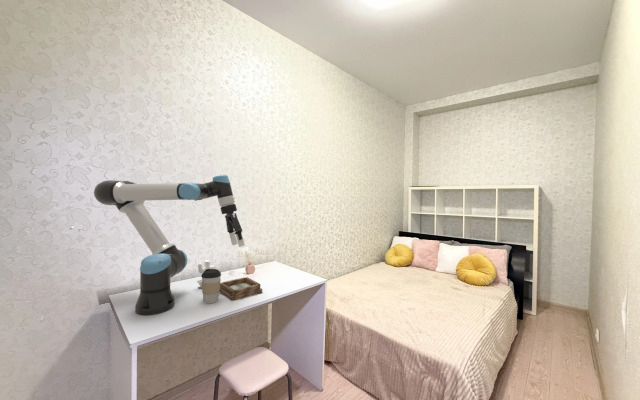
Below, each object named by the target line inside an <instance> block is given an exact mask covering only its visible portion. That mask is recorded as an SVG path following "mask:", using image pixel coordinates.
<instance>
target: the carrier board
mask: <svg viewBox="0 0 640 400" xmlns="http://www.w3.org/2000/svg"><path fill="white" fill-rule="evenodd" d="M219 294H221V295H223V296H224V297H225V298H227V299H229V300H230V301H231V302H234V301H238V300H241V299H245V298H249V297H252V296H257V295H258V294H263V288H261V283H259V282H258V281H255V280H254V279H251V278H250V277H247V276H246V277H239V278H236V279H231V280H227V281H223V282H220V291H219Z"/></svg>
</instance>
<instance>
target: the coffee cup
mask: <svg viewBox="0 0 640 400" xmlns="http://www.w3.org/2000/svg"><path fill="white" fill-rule="evenodd" d="M221 276H222V272H221V271H220V270H219V269H216V268H215V269H206V270H205V271H204V272H203V273H201V276H200V277H201V280H202V288H201V290H202V292H201V293H202V301H203V303H204V304H212V303H213V304H214V303H216V302H218V301H219V295H220V292H219V291H220V283H221Z"/></svg>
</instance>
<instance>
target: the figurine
mask: <svg viewBox="0 0 640 400" xmlns="http://www.w3.org/2000/svg"><path fill="white" fill-rule="evenodd" d="M210 263H211V261H210V260H209V259H205V260H204V261H203V263H202V262H199V263H198V265H197V267H198V270H197V271H198V273H199V274H202V273H204V271H205V270H206V269H216V267H215V265H213V264H212V265H210ZM196 282H197V283H198V285H199V286H200V288H201V289H202V279H200V280H199V279H198V280H196Z"/></svg>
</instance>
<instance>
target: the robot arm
mask: <svg viewBox="0 0 640 400" xmlns="http://www.w3.org/2000/svg"><path fill="white" fill-rule="evenodd" d="M93 195H94V198H95V199H96V201H98V202H99V203H100V204H102V205H105V206H116V208H117V210H118V212H120V213H123V214H125V215H126V216H127V217H126V218H128V219H129V221H130V222H131V224H132V225H133V227H134V228H135V231H137V232H138V235H139V236H140V237H141V238H142V240H143V242H144V243H145V245H146V246H147V247H148V249H149V250H150V252H151V254H150V255H147V256H145V257H144V258H143V259H142V260H141V261H140V267H139V271H140V275H139V277H140V278H139V279H140V282H139V283H140V284H139V285H140V286H139V287H140V290H139V291H140V292H139V295H138V298H137V301H136V304H135V305H134V306H135V307H134V308H135V309H134V310H135V313H136V314H138V315H142V316H149V315H151V316H152V315H157V314H161V313H165V312H166V311H169V310H171V309H173V308H174V306H175V297H174V295H173V292H172V289H171V279H172V278H173V277H174V276H175V275H178V274H179V273H181V272H182V271H183V270H184V269H185V268H186V267H187V264H188V255H187V254H186V253H185V251H183V250H180V249H178V247H177V246H176V245H175V244H174V243H173V244H172V243H170V242H169V240H168V239H167V237H166V236H165V234H164V233H163V231H162V230H161V229H160V227H159V225H158V224H157V223H156V221H155V219H154V218H153V217H152V215H151V213H150V212H149V210H148V209H147V208H146V206H145V205H144V204H145V201H177V200H179V201H180V200H181V201H182V200H183V201H188V200H189V201H196V202H197V201H202V200H205V199H209V198H212V197H216V196H217V200H218V204H219V207H220V212H221V215H224V218H225V222H226V223H225V225H226V231H227V233H228V234H229V238H230V241H231V242H230V243H231V246H235V245H238V248H241V247H244V246H245V245H246V244H245V241H244V237H243V233H242V232H243V228H242V226H241V224H240V222H239V218H238V216H237V213H236V212H237V211H238V208H237V205H236V204H235V199H236V197H235V196H234V195H233V190H232V187H231V182H230V178H229V176H228V175H227V174H218V175H215V176H212V181H210V182H205V183H196V182H195V183H194V182H186V183H185V182H181V183H180V182H179V183H176V182H175V183H170V182H168V183H136V182H133V181H129V180H122V181H121V180H112V179H111V180H103V181H101V182H98V184H96V186H95V188H94V190H93Z"/></svg>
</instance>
